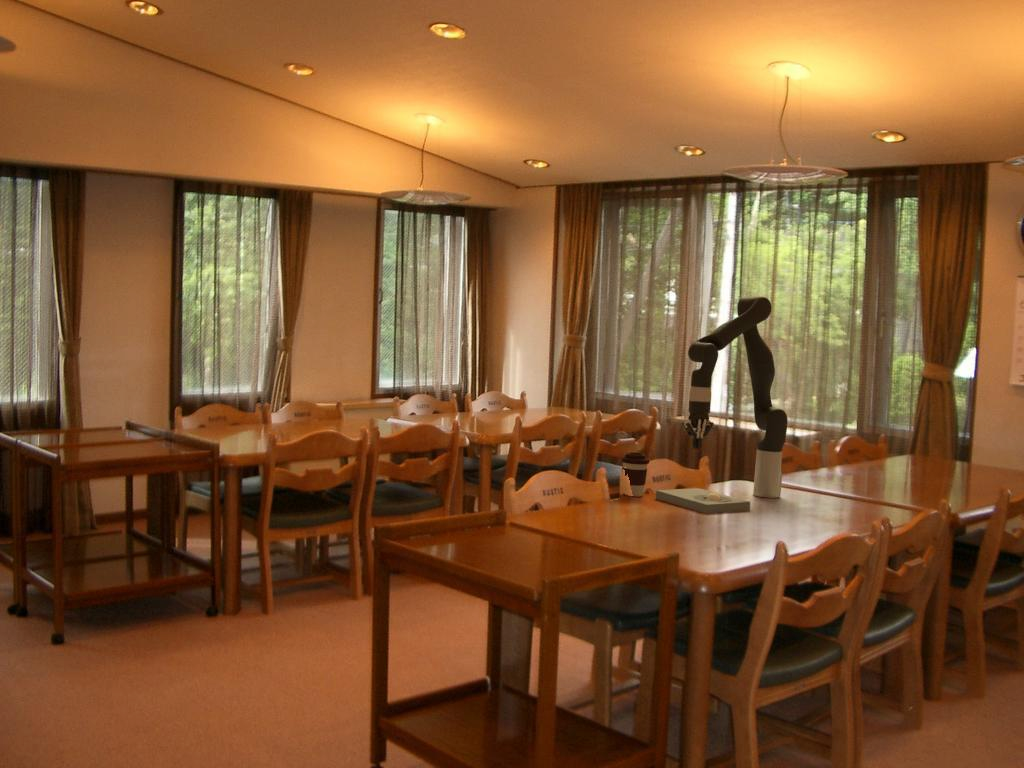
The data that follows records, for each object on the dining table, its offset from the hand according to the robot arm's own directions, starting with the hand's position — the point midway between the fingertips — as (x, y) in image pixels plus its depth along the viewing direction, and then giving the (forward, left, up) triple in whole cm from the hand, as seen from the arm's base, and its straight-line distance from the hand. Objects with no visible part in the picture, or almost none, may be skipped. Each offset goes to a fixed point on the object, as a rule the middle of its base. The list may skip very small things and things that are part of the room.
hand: (696, 448), depth 366 cm
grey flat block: (0, +5, -19) cm, 20 cm away
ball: (0, +11, -16) cm, 20 cm away
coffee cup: (+14, -16, -19) cm, 29 cm away
